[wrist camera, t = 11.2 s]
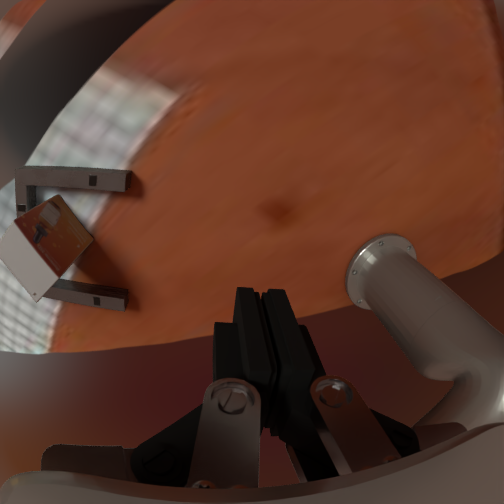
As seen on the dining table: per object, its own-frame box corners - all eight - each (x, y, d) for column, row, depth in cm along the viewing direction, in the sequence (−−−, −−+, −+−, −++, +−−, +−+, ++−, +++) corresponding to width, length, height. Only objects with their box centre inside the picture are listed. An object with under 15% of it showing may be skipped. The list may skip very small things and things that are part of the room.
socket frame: (131, 170, 30) (124, 175, 28) (128, 301, 37) (123, 314, 35) (25, 165, 27) (12, 169, 24) (35, 285, 34) (26, 295, 31)
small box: (95, 238, 33) (61, 280, 24) (71, 261, 34) (36, 305, 24) (58, 192, 30) (12, 219, 20) (36, 218, 30) (-8, 250, 21)
